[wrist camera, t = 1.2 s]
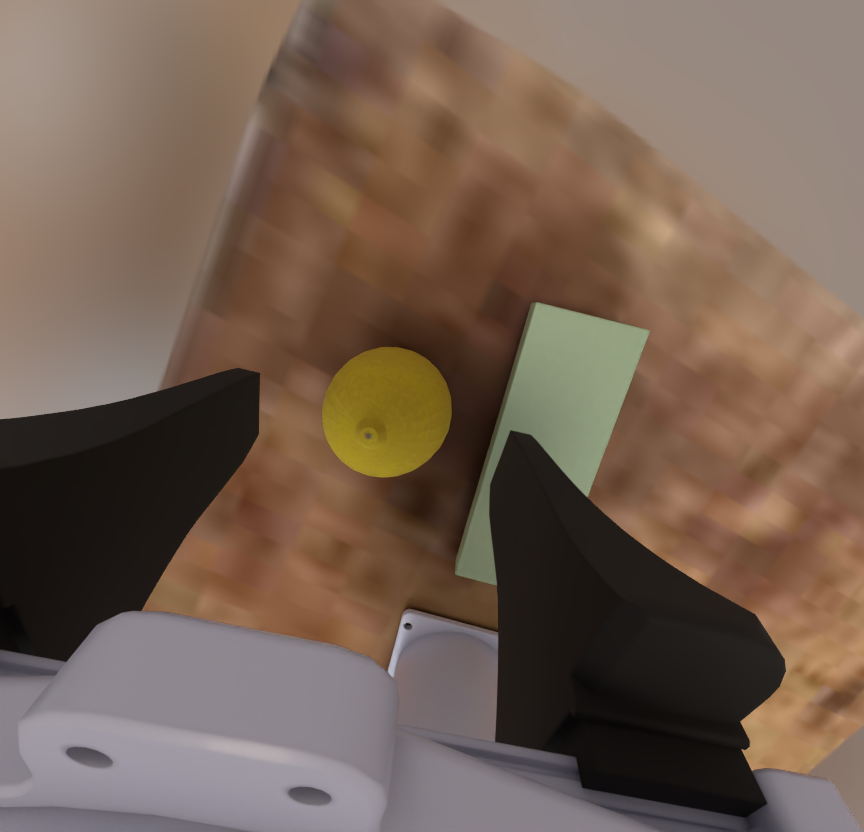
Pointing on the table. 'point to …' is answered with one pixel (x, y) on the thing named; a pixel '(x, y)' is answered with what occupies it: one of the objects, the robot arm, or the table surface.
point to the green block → (556, 408)
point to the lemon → (386, 412)
